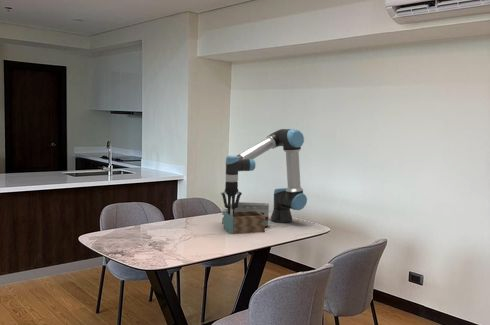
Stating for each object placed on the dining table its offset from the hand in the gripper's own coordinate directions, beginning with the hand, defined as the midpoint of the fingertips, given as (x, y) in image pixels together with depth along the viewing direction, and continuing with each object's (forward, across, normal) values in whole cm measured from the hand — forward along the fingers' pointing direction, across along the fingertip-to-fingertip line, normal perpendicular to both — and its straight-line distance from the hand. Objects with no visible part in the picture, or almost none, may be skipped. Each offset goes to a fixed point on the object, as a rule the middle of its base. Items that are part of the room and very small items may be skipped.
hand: (230, 219), depth 272 cm
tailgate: (+7, +1, 0) cm, 7 cm away
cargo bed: (+9, -10, 0) cm, 13 cm away
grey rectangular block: (+9, -16, -17) cm, 25 cm away
